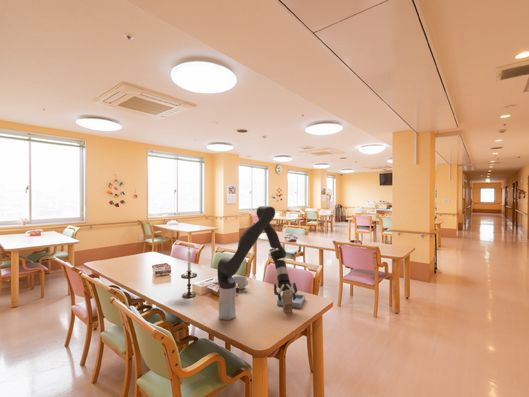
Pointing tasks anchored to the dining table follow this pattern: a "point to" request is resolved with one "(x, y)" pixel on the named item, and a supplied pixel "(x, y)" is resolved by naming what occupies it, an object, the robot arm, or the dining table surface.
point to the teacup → (241, 281)
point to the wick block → (287, 301)
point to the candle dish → (294, 301)
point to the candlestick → (189, 276)
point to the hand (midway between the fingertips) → (287, 300)
